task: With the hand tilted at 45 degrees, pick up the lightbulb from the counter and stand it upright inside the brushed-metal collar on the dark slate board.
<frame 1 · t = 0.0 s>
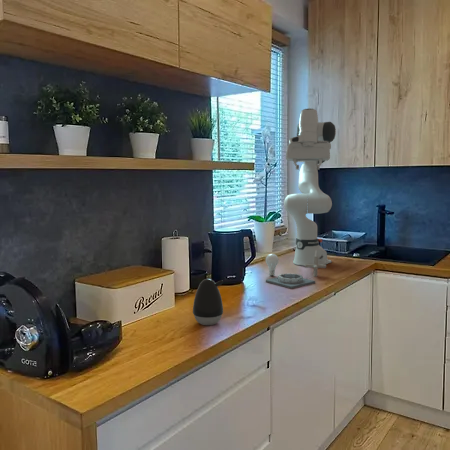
hand: (307, 169, 209), 52 cm above the worktop, tool tilted 20°, fingers open, 8 cm apart
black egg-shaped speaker: (208, 323, 153), on the worktop
collar board: (290, 282, 208), on the worktop
pipe connector: (315, 276, 221), on the worktop
lightbulb: (271, 276, 222), on the worktop
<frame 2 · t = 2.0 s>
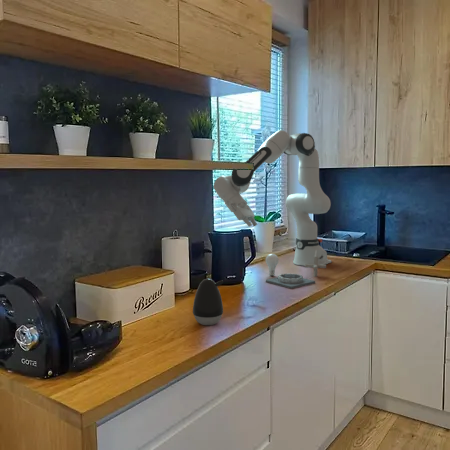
hand: (253, 225, 222), 25 cm above the worktop, tool tilted 40°, fingers open, 8 cm apart
nothing on the worktop moved.
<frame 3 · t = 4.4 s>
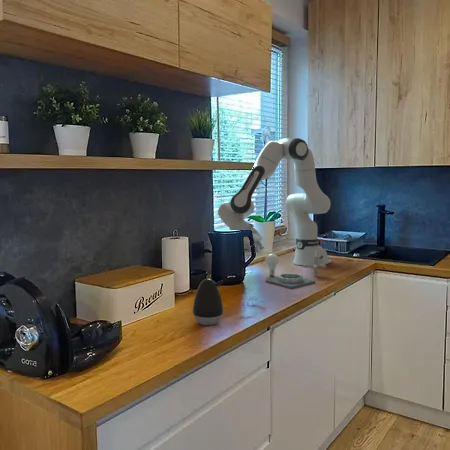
hand: (258, 250, 224), 12 cm above the worktop, tool tilted 45°, fingers open, 8 cm apart
nothing on the worktop moved.
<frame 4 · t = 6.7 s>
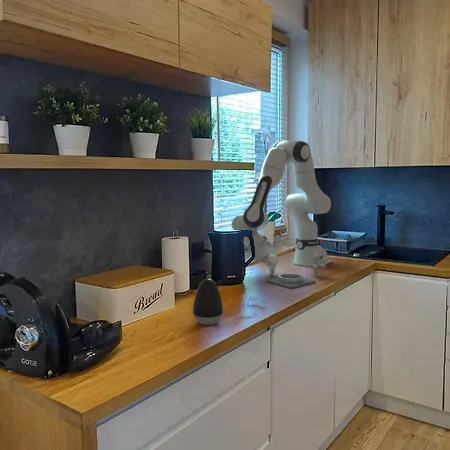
hand: (273, 264, 221), 6 cm above the worktop, tool tilted 45°, fingers closed on lightbulb, 6 cm apart
lightbulb: (271, 276, 222), on the worktop, touching gripper
everything else where it was.
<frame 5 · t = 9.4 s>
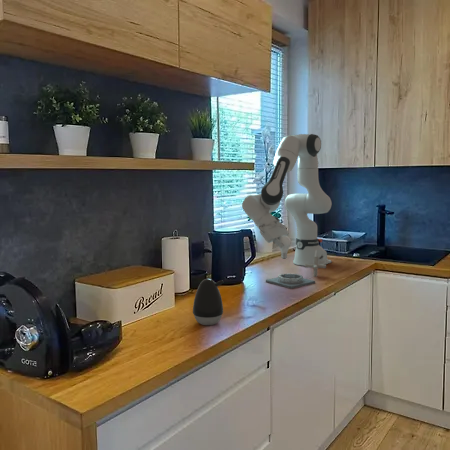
hand: (285, 245, 210), 17 cm above the worktop, tool tilted 45°, fingers closed on lightbulb, 6 cm apart
lightbulb: (284, 259, 211), point 10 cm above the worktop, touching gripper
everything else where it was.
when the fingers open (8 cm above the worktop, at t = 12.4 s): lightbulb stays where it is, resting on collar board.
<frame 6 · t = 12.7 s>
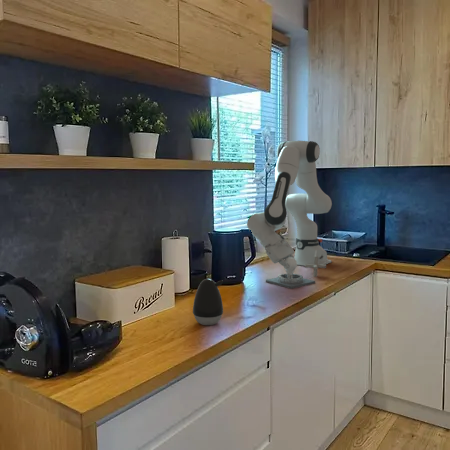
hand: (291, 265, 207), 8 cm above the worktop, tool tilted 45°, fingers open, 8 cm apart
lightbulb: (289, 281, 208), point 1 cm above the worktop, touching collar board
everything else where it was.
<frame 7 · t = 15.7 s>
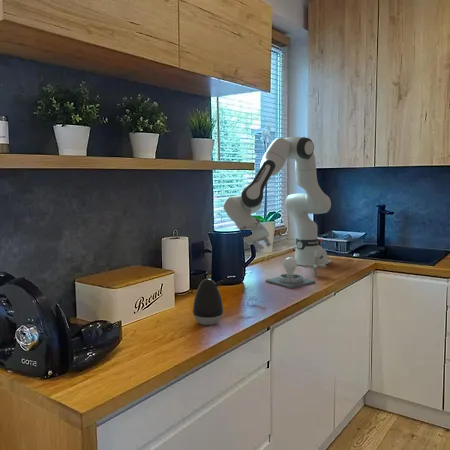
hand: (266, 247, 214), 15 cm above the worktop, tool tilted 45°, fingers open, 8 cm apart
nothing on the worktop moved.
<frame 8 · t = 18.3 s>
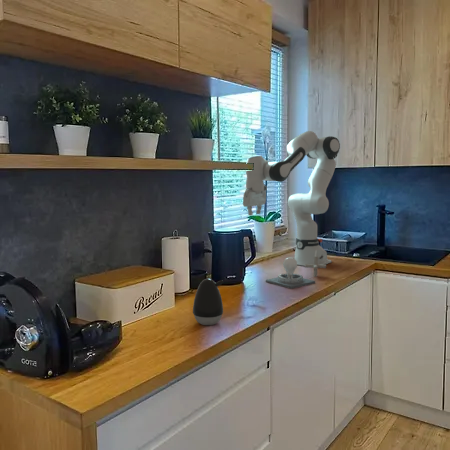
hand: (254, 214, 231), 29 cm above the worktop, tool pointing down, fingers open, 8 cm apart
nothing on the worktop moved.
at the end: lightbulb 0.5 cm off-centre on the collar board, point 0.8 cm above the collar board's base; lightbulb tilted 0°; the gripper is holding nothing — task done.
